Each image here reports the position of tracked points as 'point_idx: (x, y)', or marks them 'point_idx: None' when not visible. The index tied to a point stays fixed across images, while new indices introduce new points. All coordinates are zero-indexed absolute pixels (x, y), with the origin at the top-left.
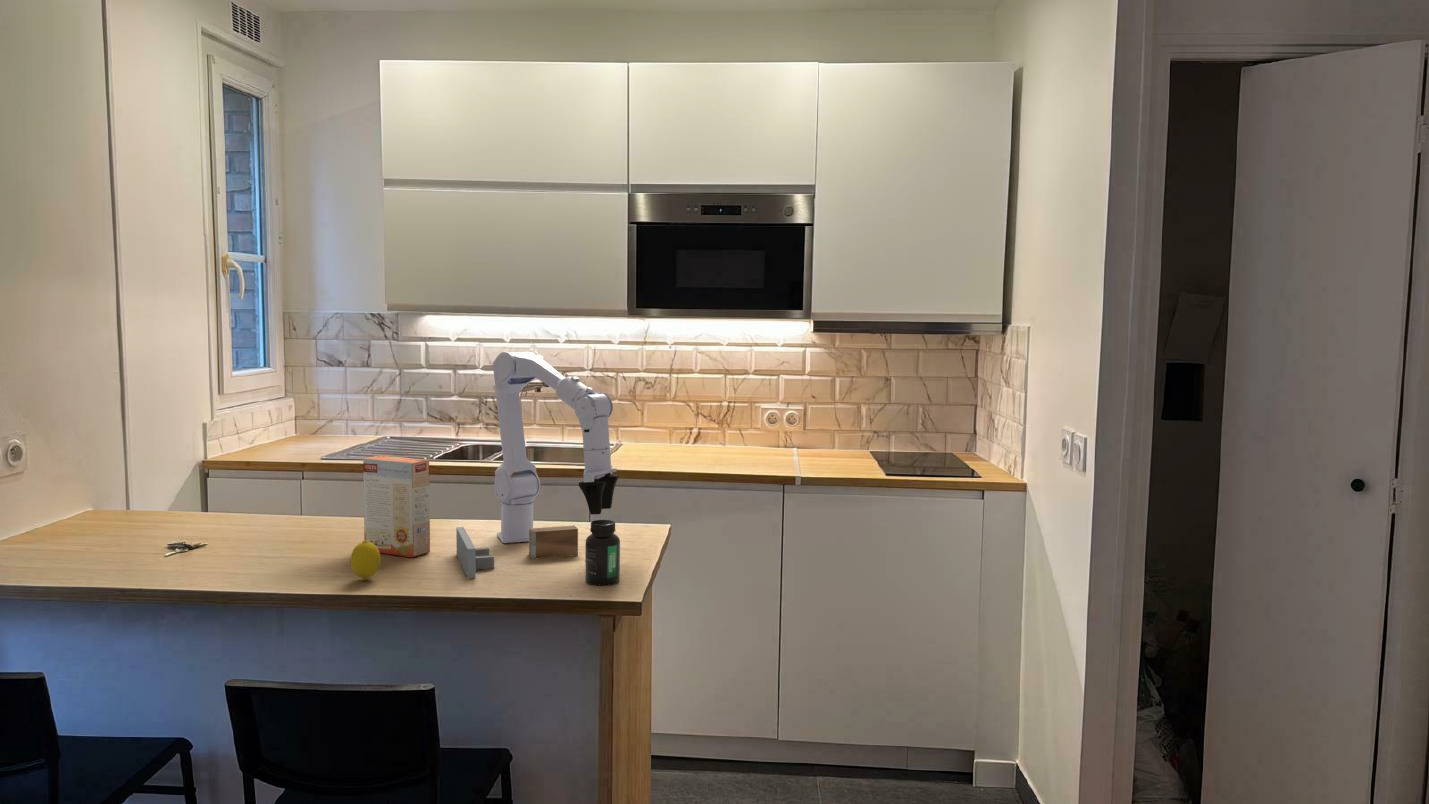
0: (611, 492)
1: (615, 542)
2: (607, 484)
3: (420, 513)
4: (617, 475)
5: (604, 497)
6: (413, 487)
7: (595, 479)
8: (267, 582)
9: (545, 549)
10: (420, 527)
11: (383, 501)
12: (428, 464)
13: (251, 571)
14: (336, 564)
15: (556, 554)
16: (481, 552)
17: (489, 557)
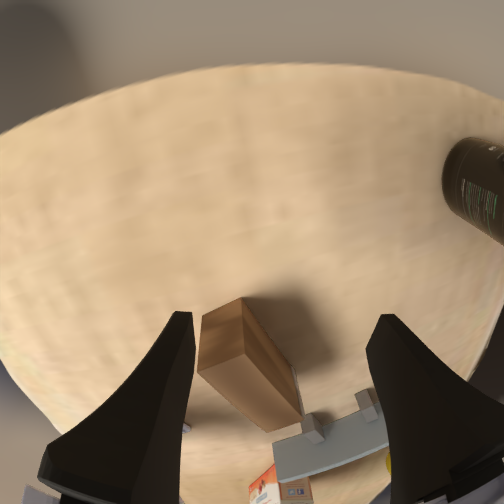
0: (167, 389)
1: None
2: (163, 460)
3: None
4: (64, 489)
5: (181, 389)
6: None
7: (481, 482)
8: (384, 472)
9: (284, 367)
10: (298, 495)
11: None
12: None
13: (350, 488)
14: (331, 478)
15: (269, 341)
16: (318, 430)
17: (374, 408)
